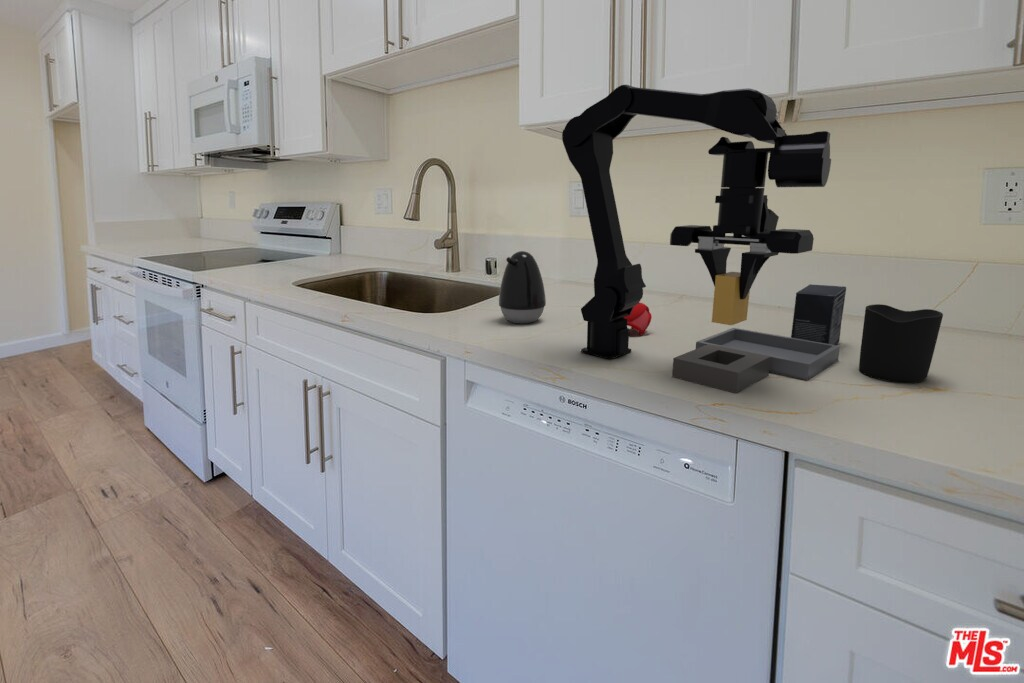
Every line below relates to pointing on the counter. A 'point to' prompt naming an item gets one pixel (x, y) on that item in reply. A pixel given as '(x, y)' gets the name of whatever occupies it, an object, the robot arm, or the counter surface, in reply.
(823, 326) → the small box
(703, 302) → the counter surface
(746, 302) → the block
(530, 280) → the pump dispenser
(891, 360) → the pen holder
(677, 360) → the gray square frame
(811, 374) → the parts tray
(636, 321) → the cap
